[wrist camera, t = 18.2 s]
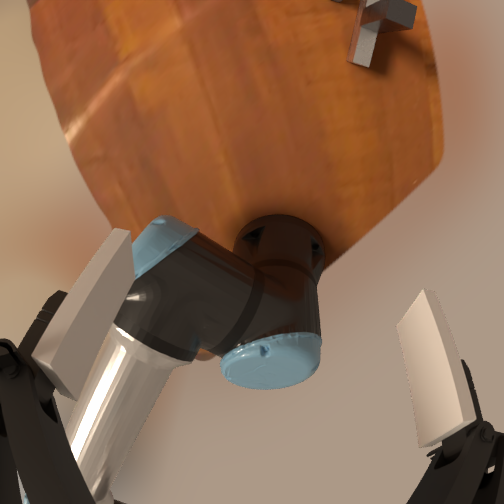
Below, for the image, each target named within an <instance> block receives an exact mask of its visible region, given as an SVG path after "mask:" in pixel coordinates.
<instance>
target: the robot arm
mask: <svg viewBox="0 0 504 504" xmlns="http://www.w3.org/2000/svg"><path fill="white" fill-rule="evenodd" d="M324 264H325V252H324V245H323V242H322V239H321V237H320V235H319V234H318V233H317V231H316V230H315V229H314V228H313V227H312V226H311V225H309V224H308V223H306V222H305V221H303V220H301V219H298V218H296V217H292V216H288V215H268V216H264V217H261V218H258V219H256V220H254V221H252V222H250V223H249V224H247V225H246V226H245V227H244V228H243V229H242V230H241V231H240V233H239V234H238V236H237V238H236V240H235V244H234V248H233V253H232V252H231V251H229V250H227V249H226V248H224V247H222V246H221V245H219V244H218V243H216V242H215V241H213V240H211V239H210V238H208V237H207V236H205V235H204V234H202V233H200V232H199V229H198V228H193V227H191V226H189V225H187V224H186V223H184V222H182V221H180V220H179V219H177V218H175V217H173V216H170V215H162V216H159V217H157V218H155V219H154V220H153V221H152V222H151V223H150V224H149V225H148V226H147V227H146V228H145V229H144V230H143V232H142V233H141V234H140V235H139V236H138V238H137V239H136V240H135V241H134V242H133V244H132V243H131V232H130V231H128V230H123V229H118V228H114V229H113V231H112V232H111V233H110V235H109V236H108V238H107V239H106V240H105V241H104V243H103V244H102V245H101V247H100V248H99V249H98V251H97V252H96V254H95V255H94V256H93V258H92V259H91V260H90V262H89V263H88V265H87V266H86V268H85V269H84V271H83V272H82V273H81V275H80V276H79V278H78V280H77V281H76V282H75V284H74V285H73V287H72V288H71V290H70V291H69V293H66V292H63V291H60V290H58V291H57V292H56V293H55V294H53V295H52V296H51V297H49V298H48V300H47V301H46V303H45V304H44V306H43V307H42V310H41V311H40V312H39V314H38V315H37V318H36V319H35V320H34V322H33V323H32V325H31V327H30V328H29V330H28V331H27V333H26V335H25V337H24V338H23V340H22V342H21V343H20V345H19V347H18V348H16V346H15V345H14V344H13V343H12V342H11V341H10V340H8V339H0V504H22V500H21V494H20V488H19V483H18V476H17V471H18V474H19V477H20V479H21V482H22V485H23V488H24V490H25V498H24V504H126V503H123V502H120V501H117V500H114V498H113V495H112V492H111V491H110V488H111V486H112V484H113V482H114V480H115V478H116V476H117V474H118V472H119V470H120V469H121V467H122V465H123V463H124V461H125V459H126V457H127V455H128V453H129V451H130V449H131V448H132V446H133V443H134V442H135V440H136V438H137V436H138V434H139V432H140V430H141V429H142V427H143V425H144V423H145V421H146V419H147V417H148V415H149V413H150V411H151V410H152V408H153V406H154V404H155V402H156V400H157V398H158V397H159V394H160V393H161V391H162V389H163V387H164V385H165V383H166V382H167V380H168V378H169V376H170V374H171V372H172V370H173V369H174V368H176V367H179V366H184V365H188V364H191V363H192V361H193V360H194V358H195V356H196V355H197V353H198V351H199V349H200V348H202V349H205V350H207V351H209V352H211V353H213V354H215V355H217V356H219V357H221V358H222V359H221V362H220V367H221V372H222V374H223V375H224V376H225V378H226V379H227V380H228V381H230V382H231V383H233V384H236V385H238V386H242V387H245V388H251V389H263V390H264V389H265V390H268V389H279V388H285V387H289V386H293V385H296V384H298V383H301V382H303V381H304V380H306V379H307V378H309V377H310V376H312V375H313V374H314V373H315V371H316V370H317V368H318V366H319V363H320V347H321V344H322V339H321V329H320V318H319V306H318V295H317V284H318V282H319V279H320V276H321V274H322V271H323V268H324ZM396 328H397V332H398V336H399V340H400V344H401V349H402V353H403V357H404V362H405V366H406V371H407V376H408V381H409V386H410V392H411V397H412V402H413V409H414V415H415V421H416V429H417V436H418V444H419V448H422V447H428V446H433V445H435V444H437V443H438V442H440V441H442V446H440V447H438V448H436V449H435V450H433V451H431V452H429V453H428V454H427V457H429V456H431V455H433V454H435V453H436V454H435V456H433V457H432V458H430V459H431V460H432V461H431V463H430V465H429V467H428V469H427V471H426V472H425V474H424V476H423V478H422V480H421V481H420V483H419V484H418V486H417V488H416V489H415V491H414V493H413V494H412V496H411V497H410V499H409V500H408V502H407V503H406V504H504V433H501V432H496V431H494V428H493V426H492V425H491V424H490V423H489V422H487V421H483V418H482V414H481V410H480V406H479V402H478V398H477V394H476V390H474V388H475V387H474V384H473V381H472V377H471V373H470V370H469V368H468V366H467V365H466V363H465V361H464V360H460V357H459V353H458V350H457V347H456V345H455V342H454V339H453V336H452V333H451V330H450V328H449V325H448V322H447V320H446V317H445V315H444V312H443V310H442V307H441V305H440V302H439V300H438V297H437V295H436V293H435V291H432V290H427V289H422V291H421V292H420V294H419V295H418V297H417V298H416V300H415V301H414V303H413V304H412V305H411V307H410V308H409V309H408V311H407V312H406V314H405V315H404V317H403V318H402V319H401V321H400V322H399V323H398V324H397V326H396ZM104 340H105V341H104ZM103 342H104V343H103ZM102 344H103V345H102ZM101 346H102V347H101ZM55 388H56V389H57V390H58V392H59V393H60V394H61V395H64V396H66V397H68V398H70V399H73V400H75V401H77V403H76V405H75V408H74V410H73V413H72V415H71V417H70V420H69V423H68V425H67V428H66V430H64V427H63V424H62V421H61V418H60V415H59V412H58V409H57V405H56V402H55V398H54V396H53V392H54V390H55ZM494 465H495V468H494V471H493V472H491V473H488V468H490V467H492V466H494Z"/></svg>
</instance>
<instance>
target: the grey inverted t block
mask: <svg viewBox="0 0 504 504" xmlns="http://www.w3.org/2000/svg"><path fill="white" fill-rule="evenodd" d="M416 10H417V6H415V5H413V4H411V3H408V2H406V1H404V0H360V4H359V9H358V14H357V18H356V22H355V27H354V31H353V35H352V40H351V44H350V48H349V52H348V56H347V60H346V61H348V62H351V63H354V64H357V65H360V66H364V67H369V65H370V61H371V57H372V53H373V49H374V45H375V41H376V37H377V33H386V32H393V31H401V30H410V29H412V28H413V24H414V19H415V15H416Z"/></svg>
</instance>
